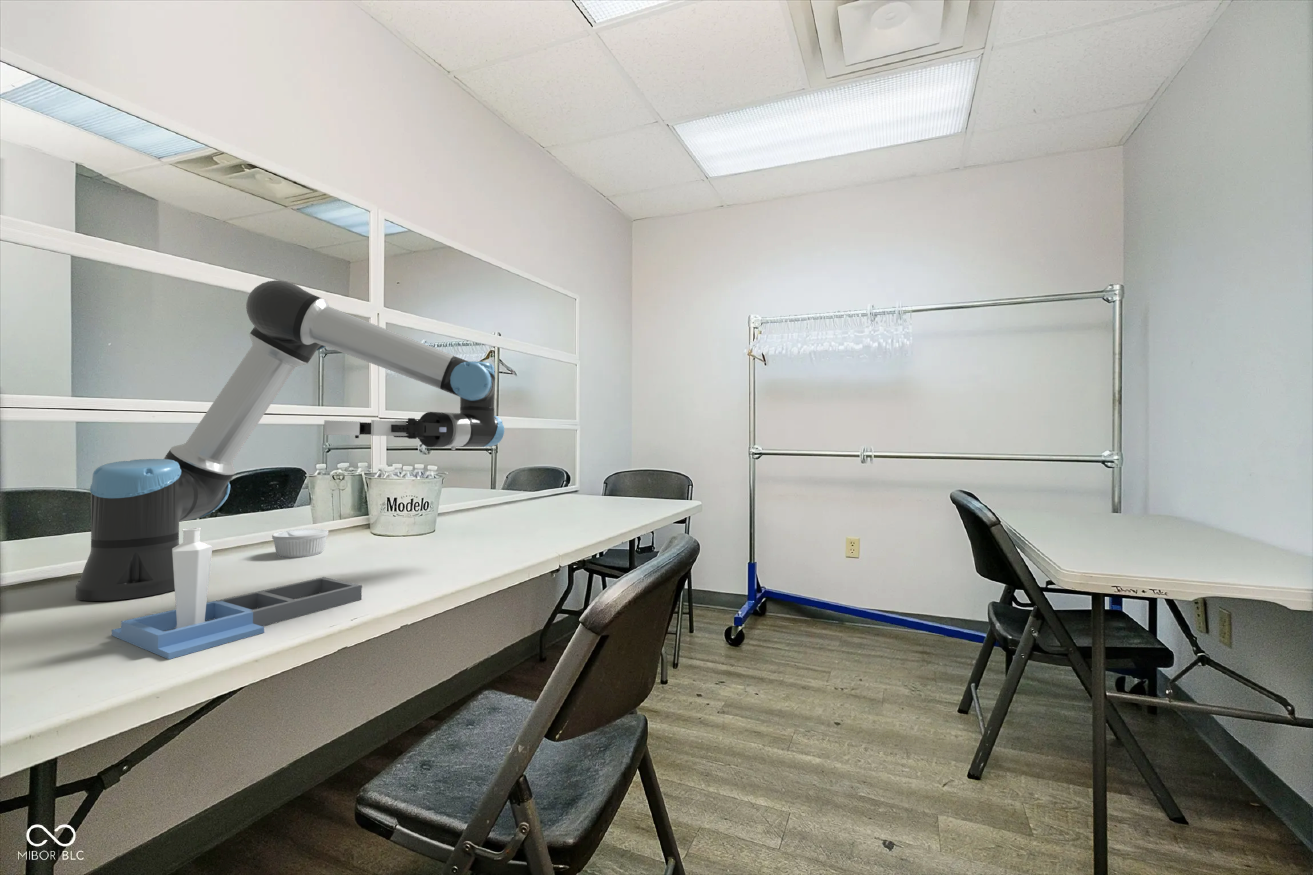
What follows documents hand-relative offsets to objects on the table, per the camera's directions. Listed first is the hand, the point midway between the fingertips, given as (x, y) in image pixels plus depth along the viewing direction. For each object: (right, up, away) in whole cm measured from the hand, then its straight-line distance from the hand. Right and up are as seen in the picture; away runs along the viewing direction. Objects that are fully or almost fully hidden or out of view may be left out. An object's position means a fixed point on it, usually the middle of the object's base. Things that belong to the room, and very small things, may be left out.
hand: (347, 427), depth 99 cm
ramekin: (-30, -30, +32) cm, 53 cm away
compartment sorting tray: (-7, -30, -13) cm, 33 cm away
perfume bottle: (-11, -30, -21) cm, 38 cm away
